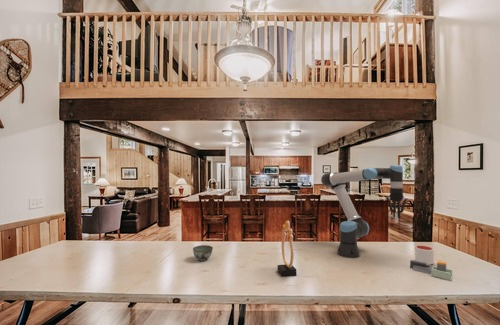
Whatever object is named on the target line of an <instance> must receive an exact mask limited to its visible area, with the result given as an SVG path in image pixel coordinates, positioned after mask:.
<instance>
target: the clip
mask: <svg viewBox="0 0 500 325" xmlns="http://www.w3.org/2000/svg"><path fill="white" fill-rule="evenodd" d="M433 266H434V265H426V267H422V266H417V265H413V269H412V270H413V271H414V272H421V273H425V274H429V275H432V269H433Z"/></svg>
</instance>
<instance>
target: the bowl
mask: <svg viewBox="0 0 500 325" xmlns="http://www.w3.org/2000/svg"><path fill="white" fill-rule="evenodd" d="M213 249H214V248H213V246H212V245H208V244H207V245H205V244H202V245H197V246H194V247H193V248H192V253H193V256H194V257H195V259H197V260H198V261H199V262H206V261H207V260H209V258H210V257H211V256H212V253H213Z"/></svg>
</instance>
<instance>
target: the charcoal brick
mask: <svg viewBox="0 0 500 325" xmlns="http://www.w3.org/2000/svg"><path fill="white" fill-rule="evenodd" d="M409 262H410V263H409V264H410V265H409V266H410V269H411V268H412V270H413V265H417V266H422V267H426V263H423V262H418V261H416V260H413V259H412V260H410V261H409Z"/></svg>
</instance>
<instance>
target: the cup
mask: <svg viewBox="0 0 500 325" xmlns="http://www.w3.org/2000/svg"><path fill="white" fill-rule="evenodd" d="M414 251H415V260H414V261H418V262H423V263H426V265H431V266H433V264H434V248H433V247H430V246H426V245H416V246H415V250H414Z"/></svg>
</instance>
